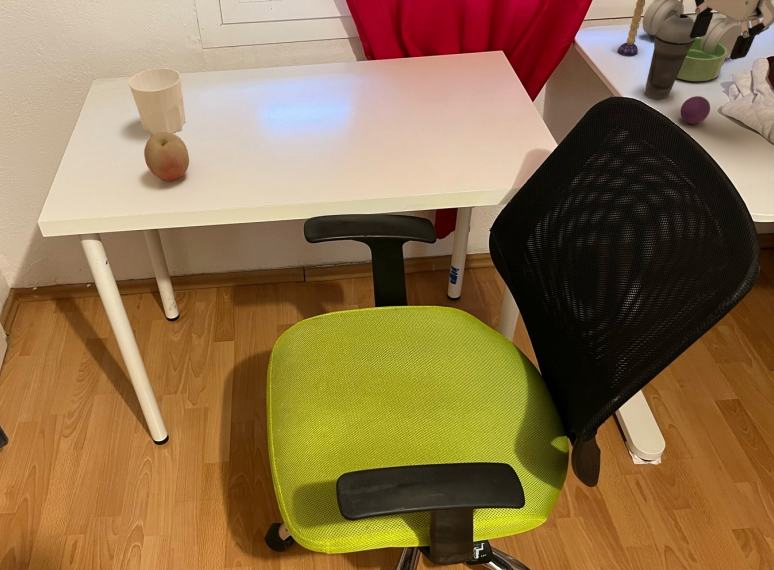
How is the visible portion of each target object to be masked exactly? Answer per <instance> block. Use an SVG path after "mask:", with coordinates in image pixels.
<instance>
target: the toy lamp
mask: <svg viewBox="0 0 774 570" xmlns="http://www.w3.org/2000/svg"><path fill="white" fill-rule="evenodd" d="M645 5H646V0H637V1H636V4H635V8H634V11H633V16H632V17H631V23H630V26H629V31H628V33H627V34H628V35H627V36H628V37H627V38H626V42H624V43H622V44H621V45H620V46H619V47H618V48H617V53H618V54H619V55H622V56H628V57H629V56H630V57H631V56H635V55H638V53H639V49H638V46H637V44H635V42H636V37H637V35H638V29H639V27H640V22H641V20H642V14H643V12H644V7H645Z"/></svg>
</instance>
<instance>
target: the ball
mask: <svg viewBox="0 0 774 570" xmlns="http://www.w3.org/2000/svg"><path fill="white" fill-rule="evenodd" d="M710 112H711V105H710V102H709V100H708V99H707V98H705V97H703V96H700V95H696V96H692V97H689V98H688V99H686V100H685V101H684V102H683V103H682V104H681V107H680V112H679V114H680V117H681V119H682V120H683V122H684V123H687V124H690V125H696V124H700V123H702V122H704V121H705V120H706V119H707V118H708V116H709V114H710Z"/></svg>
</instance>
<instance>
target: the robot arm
mask: <svg viewBox="0 0 774 570" xmlns="http://www.w3.org/2000/svg"><path fill="white" fill-rule="evenodd" d="M772 1H773V0H694V4H695V9H694V13H695V14H696V18H695V20H694V25H693V28H692V30H691V33H690V36H689V37H690V38H692V39H693V38H699V37H702V36H705V35H706V33H707V30H708V27H709V25H710V22H711V21H713V16H714V12H712V11H715V12H717V13H719V14H721V15H723V16H725V17H726V16H728V17H730V18H732V19H734V20H736V21H740V25H741V30H742V33H741V35H740V36H738V37H737V40H736V42H735V44H734V47H733V49H732V52H731V54H730V55H729V59H730V60H732V61H734V60H739V59H744V58H745V57H747V55H748V53H749V52H750V50H751V47H752V45H753V42H754V40H755V38H756V36H759V35H761V33H763V32H765V31H767V30H769V28H770V26H772V25H773V24H774V4H773V3H772ZM760 19H761V21H760Z"/></svg>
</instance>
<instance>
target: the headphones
mask: <svg viewBox="0 0 774 570" xmlns="http://www.w3.org/2000/svg"><path fill="white" fill-rule="evenodd" d="M679 5H680V0H653V1H652V2H651V3H650V4H649V6H648V7H647V9H646V10H645V12H644V15H643V18H642V29H643V31H644V33H646V34H647V35H650V36H655V34H656V32H657V30H658V28H659V26H660V25H661V24H662V23H663V21H665V20H666V19H667V18H668V17H670V16H672V15H675V14H678V9H679ZM684 11H685V6H684V3H683V4H682V9H681V13H680V14H685V13H684ZM740 35H742V30H741V24H740V21H736V20H734V19H732V18H730V17H728V16H725V17H717V18H714V19H712V20H711V22H710V25H709V27H708V30H707V33H706V35H705V36H702V37H698V38H700V39H701V41H700V49H701V50H703V49H704V52H705V53H707V54H710V55H714V54H715V51H716V49H717V46H718V44H722V45H723V46H724V47H725V48H726V49H727V55H726V57H725V59H726V58H728V57H730V54H731V52H732V49H733V47H734V44H735V42H736V40H737V37H738V36H740Z"/></svg>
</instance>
